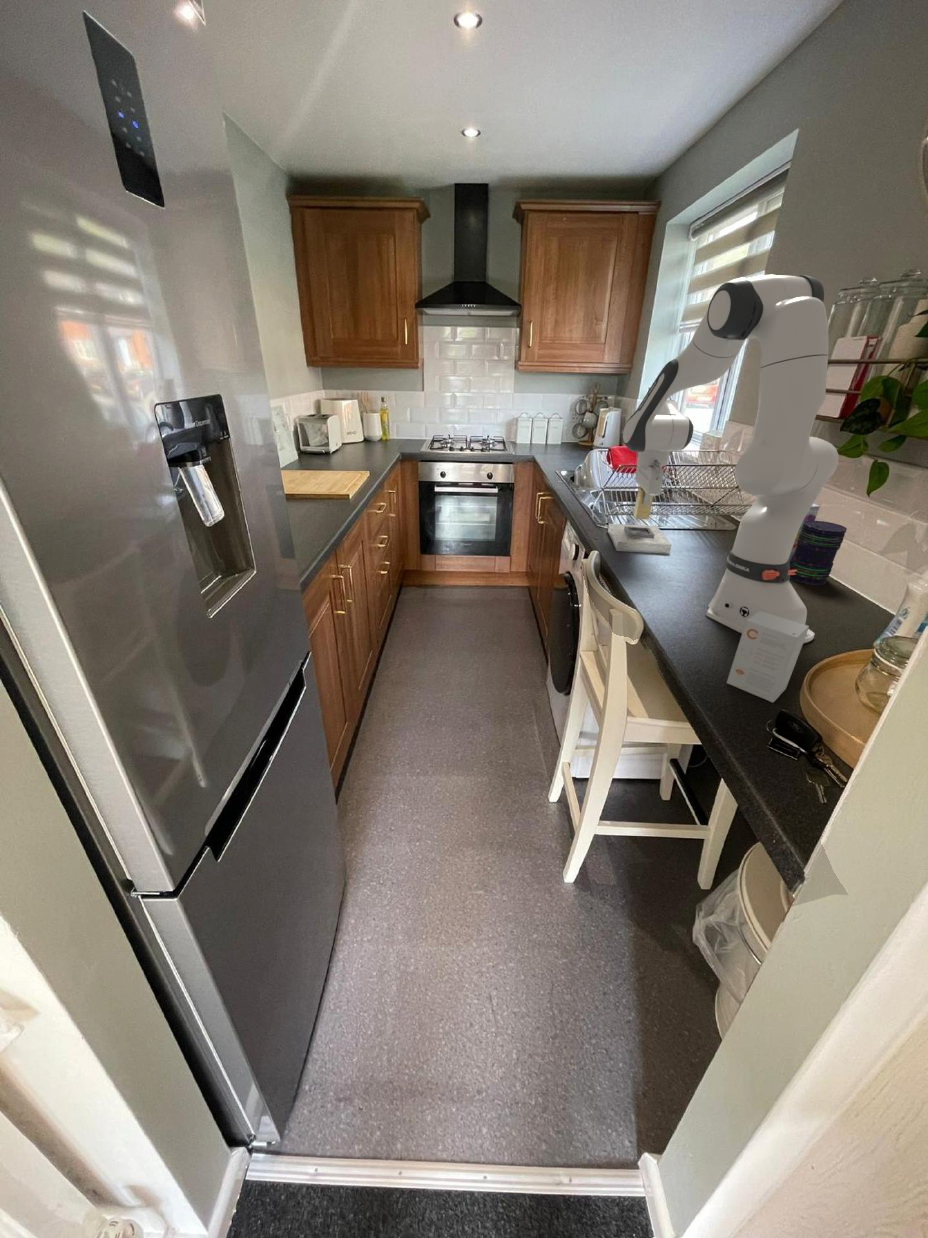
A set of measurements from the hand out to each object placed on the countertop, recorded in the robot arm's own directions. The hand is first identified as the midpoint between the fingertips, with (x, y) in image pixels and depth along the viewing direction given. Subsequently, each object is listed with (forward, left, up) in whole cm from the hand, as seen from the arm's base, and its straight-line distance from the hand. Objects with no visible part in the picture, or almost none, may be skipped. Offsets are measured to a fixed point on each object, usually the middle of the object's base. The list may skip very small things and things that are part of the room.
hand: (643, 503), depth 156 cm
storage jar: (-37, -30, -13) cm, 50 cm away
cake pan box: (-24, -29, -13) cm, 40 cm away
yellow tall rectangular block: (0, 0, -5) cm, 5 cm away
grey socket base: (0, 0, -13) cm, 13 cm away
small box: (-78, +25, -13) cm, 83 cm away
